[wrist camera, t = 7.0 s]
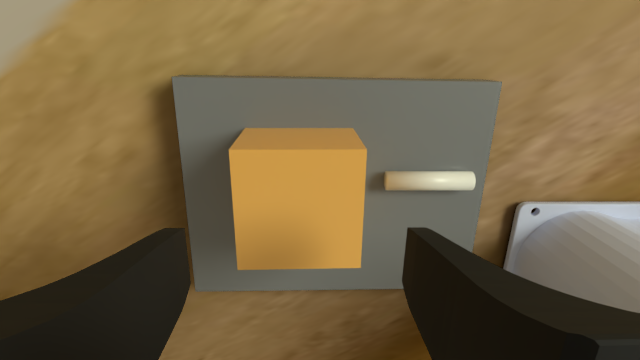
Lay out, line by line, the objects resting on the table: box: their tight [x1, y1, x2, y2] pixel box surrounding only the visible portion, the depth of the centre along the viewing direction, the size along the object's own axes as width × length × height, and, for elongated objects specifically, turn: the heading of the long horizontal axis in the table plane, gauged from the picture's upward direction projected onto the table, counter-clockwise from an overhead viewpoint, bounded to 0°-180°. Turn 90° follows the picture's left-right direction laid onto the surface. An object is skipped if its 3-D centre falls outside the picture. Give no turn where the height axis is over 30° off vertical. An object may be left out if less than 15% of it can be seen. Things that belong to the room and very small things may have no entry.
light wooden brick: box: [229, 128, 367, 270], centre depth 17 cm, size 5×5×4 cm
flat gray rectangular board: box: [172, 75, 502, 291], centre depth 19 cm, size 16×12×4 cm
